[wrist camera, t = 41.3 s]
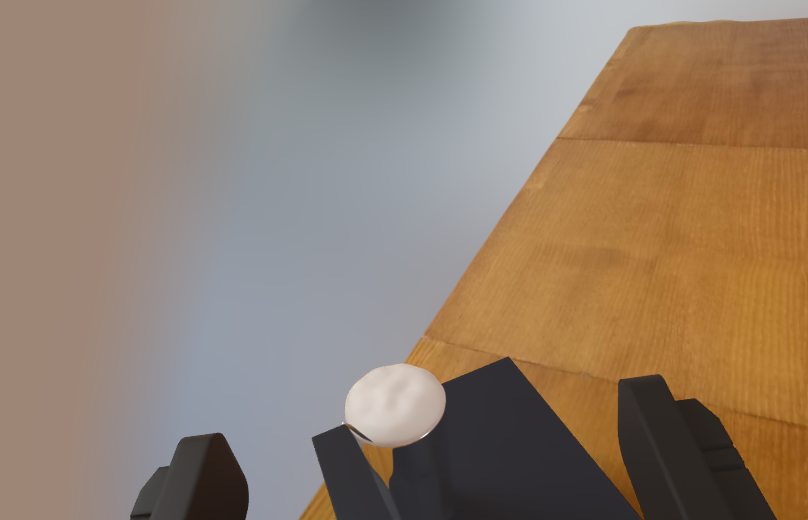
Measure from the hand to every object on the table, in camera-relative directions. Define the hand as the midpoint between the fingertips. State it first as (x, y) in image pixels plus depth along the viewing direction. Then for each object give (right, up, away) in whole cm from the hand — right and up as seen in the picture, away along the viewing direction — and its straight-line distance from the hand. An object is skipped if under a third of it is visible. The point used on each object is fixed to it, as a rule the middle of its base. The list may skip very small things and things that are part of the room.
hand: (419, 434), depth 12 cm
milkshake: (+1, -10, +19) cm, 22 cm away
